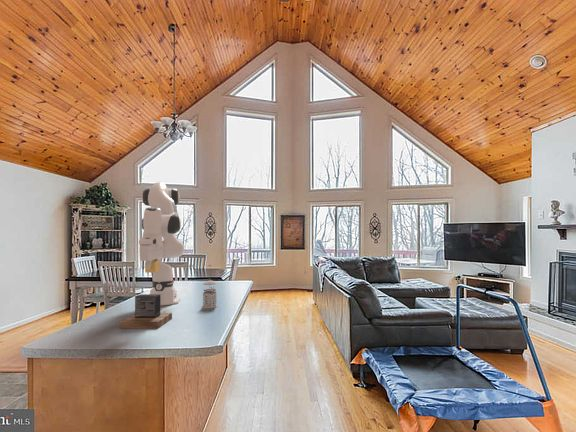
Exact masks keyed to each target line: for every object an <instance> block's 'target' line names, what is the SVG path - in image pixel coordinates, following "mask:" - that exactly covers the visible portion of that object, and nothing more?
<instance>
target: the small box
mask: <svg viewBox="0 0 576 432" xmlns="http://www.w3.org/2000/svg"><path fill="white" fill-rule="evenodd" d="M160 297H161V294H150V293H149V294H143V293H142V294H138V295H135V296H134V298H135V299H134V314H135V318H156V317H157V316H159V315H160V313H161V306H160V300H161V298H160Z"/></svg>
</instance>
